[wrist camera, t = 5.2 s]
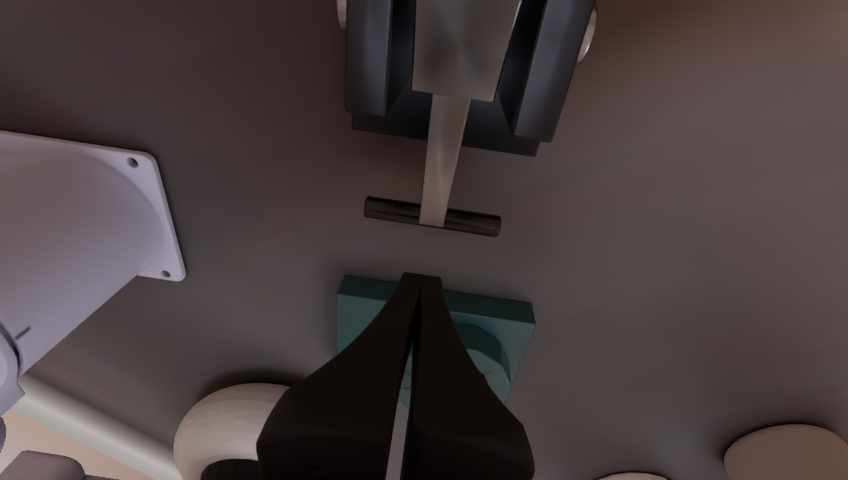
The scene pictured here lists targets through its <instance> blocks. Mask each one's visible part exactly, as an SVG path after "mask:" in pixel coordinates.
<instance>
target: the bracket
mask: <svg viewBox="0 0 848 480" xmlns="http://www.w3.org/2000/svg"><path fill="white" fill-rule="evenodd" d="M595 1H596V0H522V4H521V7H520V11H519V15H518V18H517V22H516V25H515V29H514V32H513V36H512V39H511V43H510V46H509V50H508V54H507V57H506V61H505V64H504V68H503V71H502V75H501V78H500V82H499V85H498V89H497V92H496V96H495V100H494V101H493V102H486V101H480V100H473V99H471V102H470V106H469V111H468V116H467V120H466V125H465V129H464V134H463V139H462V143H461V146H466V147H473V148H479V149H486V150H493V151H499V152H506V153H513V154H519V155H526V156H532V157H535V156H536V153H537V150H538V147H539V143H540V141H542V142H551V141H552V139H553V136H554V133H555V130H556V126H557V123H558V120H559V117H560V114H561V110H562V107H563V104H564V101H565V97H566V94H567V91H568V88H569V85H570V81H571V78H572V75H573V72H574V69H575V67H576V66H579V65H580V64H581V62H582V61H583V59H584V58H585V56H586V54H587V52H588V50H589V48H590V45H591V42H592V39H593V36H594V32H595V28H596V23H597V14H598V10H597V5H596V4H595ZM337 15H338V21H339V25H340V28H341V30H342V31H343V32H345V33H346V57H345V110H346V111H347V112H350V113H352V129H353V130H360V131H367V132H373V133H380V134H387V135H393V136H400V137H407V138H413V139H420V140H426V141H428V133H429V124H430V115H431V105H432V96H433V93H426V92H420V91H413V90H412V89H411V77H412V57H413V36H414V16H415V0H337Z"/></svg>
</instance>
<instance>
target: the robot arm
mask: <svg viewBox="0 0 848 480" xmlns="http://www.w3.org/2000/svg"><path fill="white" fill-rule="evenodd" d="M133 159H135V160H136V161H137V163H138V164H136V163H135V162H134V160H133ZM167 271H168V272H167ZM136 275H139V276H146V277H152V278H159V279H165V280H172V281H181V280H183V279H184V278H185V276H186V271H185V267H184V263H183V259H182V256H181V252H180V248H179V244H178V240H177V237H176V233H175V229H174V225H173V222H172V218H171V214H170V210H169V206H168V203H167V199H166V195H165V191H164V188H163V184H162V180H161V176H160V172H159V169H158V165H157V162H156V160H155V158H154V157H153V156H152V155H150V154H149V153H146V152H141V151H134V150H127V149H121V148H114V147H108V146H101V145H94V144H88V143H81V142H75V141H68V140H61V139H55V138H48V137H42V136H35V135H28V134H22V133H15V132H9V131H2V130H0V452H1V450H2V448H3V445H4V441H5V438H6V426H5V424H4V421H3V418H1V416H2V415H3V414H4V413H5V412H6V411H7V410H8V409H10V408H11V407H12V406H13V405H14V404H15V403H16V402H17V401H18V400H19V399H20V398H21V397H23V396H24V394H25V393H24V391H23V390H22V389H21V388H20V386H19V384H18V382H17V378H19V377H20V376H21V375H22V374H23V373H24V372H26V371H27V370H28V369H29V368H30V367H31V366H32V365H34V364H35V363H36V362H37V361H38V360H39V359H41V358H42V357H43V356H44V355H45V354H46V353H47V352H49V351H50V350H51V349H52V348H53V347H54V346H56V345H57V344H58V343H59V342H60V341H61V340H62V339H64V338H65V337H66V336H67V335H68V334H69V333H70V332H72V331H73V330H74V329H75V328H76V327H77V326H79V325H80V324H81V323H82V322H83V321H84V320H85V319H87V318H88V317H89V316H90V315H91V314H92V313H94V312H95V311H96V310H97V309H98V308H99V307H100V306H102V305H103V304H104V303H105V302H106V301H107V300H108V299H110V298H111V297H112V296H113V295H114V294H115V293H117V292H118V291H119V290H120V289H121V288H122V287H123V286H125V285H126V284H127V283H128V282H129V281H130V280H131V279H133V278H134V277H135V276H136ZM412 341H413V343H412ZM411 345H412V367H411V392H410V406H409V415H408V422H407V430H406V437H405V445H404V452H403V460H402V467H401V474H400V480H532V479H533V476H534V473H535V468H534V460H533V455H532V451H531V447H530V444H529V441H528V437H527V435H526V432H525V429H524V426H523V425H522V424H521V423H520V422H519V421H518V419H517V418H516V417H515V416H514V415H513V414H512V413H511V412H510V411H509V410H508V409H507V408H506V406H505V405H504V404H503V403H502V402H501V400H500V399H499V398H498V397H497V395H496V394H495V393H494V392H493V390H492V389H491V387H490V386H489V384H488V383H487V382H486V380H485V379H484V377H483V376H482V375H481V373H480V372H479V370H478V369H477V367H476V365H475V364H474V362H473V360H472V359H471V357H470V355H469V353H468V352H467V350H466V348H465V346H464V344H463V342H462V340H461V338H460V336H459V334H458V331H457V329H456V327H455V324H454V322H453V319H452V317H451V314H450V311H449V309H448V306H447V302H446V299H445V295H444V291H443V286H442V280H441V279H440V277H435V276H429V275H422V274H415V273H409V272H405V273H404V274H402V277H401V279H400V281H399V283H398V285H397V287H396V289H395V290H394V292H393V293H392V295H391V296H390V298H389V299H388V301H387V302H386V303H385V305H384V306H383V308H382V309H381V310H380V312H379V313H378V314H377V315H376V316H375V318H374V319H373V320H372V321H371V322H370V324H369V325H368V326H367V327H366V328H365V329H364V330H363V331H362V332H361V333H360V334H359V335H358V336H357V337H356V338H355V339H354V340H353V341H352V342H351V343H350V344H349V345H348V346H347V347H346V348H344V349H343V350H342V351H341V352H340V353H339V354H338V355H336V356H335V357H334V358H333V359H331V360H330V361H329V362H327V363H326V364H325V365H323V366H322V367H321V368H319V369H318V370H317V371H315V372H314V373H312V374H311V375H309V376H308V377H306V378H304V379H303V380H301V381H300V382H298V383H296V384H295V385H293V386H292V387H290V388H288V389H287V390H286V391H285V392H284V393H283V395H282V396H281V397H280V399H279V400H278V402H277V403H276V405H275V406H274V408H273V409H272V411H271V413H270V414H269V416H268V418H267V420H266V422H265V424H264V426H263V428H262V430H261V433H260V435H259V437H258V439H257V441H256V453H257V457H258V462H259V467H260V472H261V477H260V479H259V480H385V479H386V472H387V466H388V459H389V453H390V446H391V440H392V433H393V427H394V421H395V414H396V408H397V403H398V398H399V393H400V389H401V385H402V381H403V377H404V373H405V369H406V365H407V361H408V357H409V353H410V349H411ZM0 480H118V479H111V478H105V477H98V476H91V475H85V473H84V470H83V467H82V466H81V464H80V463H78V462H77V461H76V460H74V459H72V458H70V457H66V456H61V455H55V454H49V453H42V452H36V451H28V450H26V451H22V452H21V453H20V454H19V455H18V456H17V457H16V458H15V459H14V460H13V461H12V463H10V464H9V465H8V466H7V467H6V468H5V470H4V471H3V472H2V473H1V474H0Z"/></svg>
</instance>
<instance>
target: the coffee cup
mask: <svg viewBox="0 0 848 480" xmlns="http://www.w3.org/2000/svg"><path fill="white" fill-rule="evenodd" d="M724 465H725V469H726V472H727V474H728V476H729V478H730V480H848V445H847V444H846V443H845V442H844V441H843V440H842V439H841V438H840V437H838V436H837V435H836V434H834V433H833V432H831V431H829V430H827V429H824V428H821V427H817V426H812V425H805V424H788V425H779V426H773V427H768V428H764V429H760V430H758V431H755V432H752V433H750V434H748V435H746V436H744V437H742V438H740V439H739V440H737V441H736V442H735V443H733V444H732V445H731V446H730V447H729V449H728V450H727V452H726V454H725V457H724Z"/></svg>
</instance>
